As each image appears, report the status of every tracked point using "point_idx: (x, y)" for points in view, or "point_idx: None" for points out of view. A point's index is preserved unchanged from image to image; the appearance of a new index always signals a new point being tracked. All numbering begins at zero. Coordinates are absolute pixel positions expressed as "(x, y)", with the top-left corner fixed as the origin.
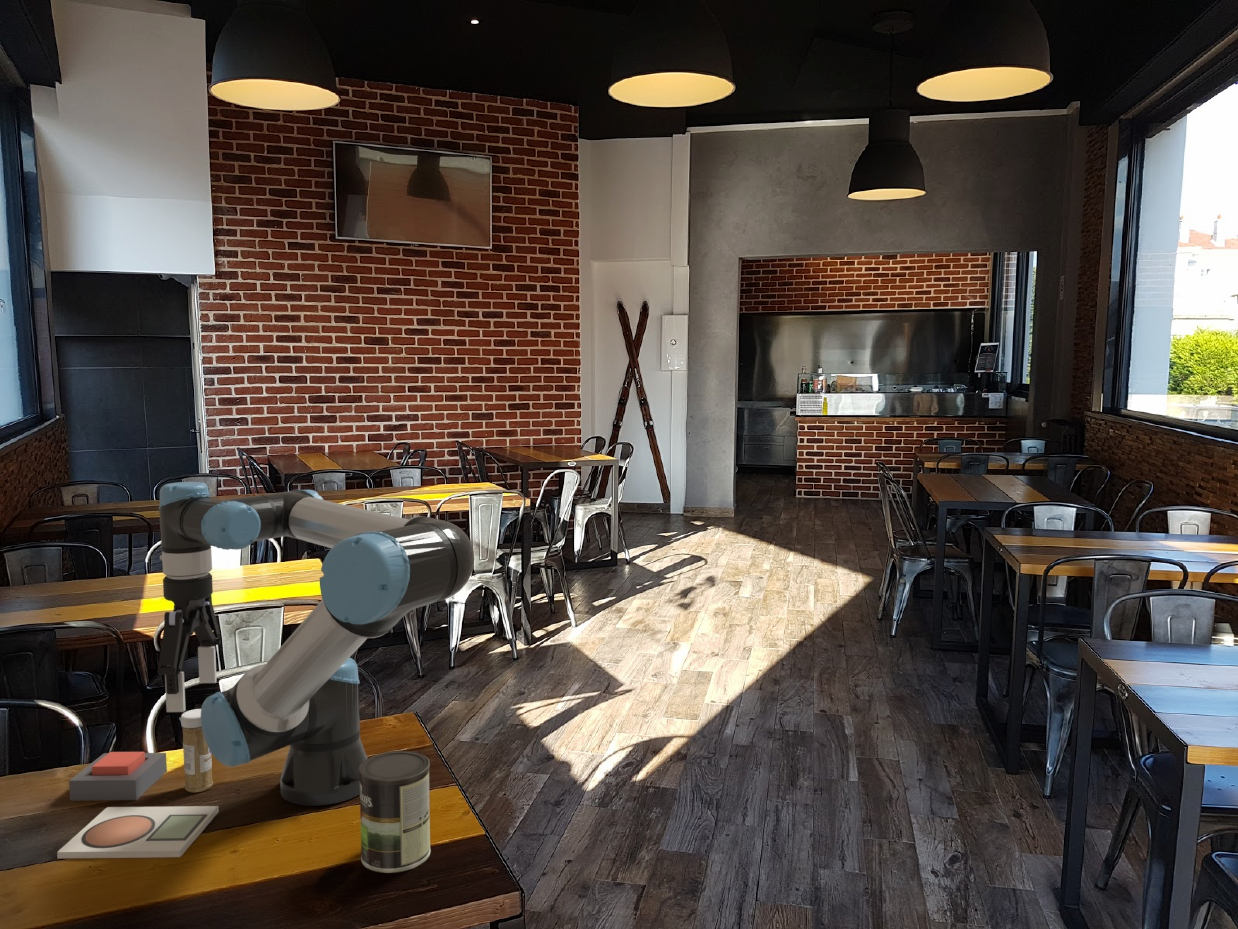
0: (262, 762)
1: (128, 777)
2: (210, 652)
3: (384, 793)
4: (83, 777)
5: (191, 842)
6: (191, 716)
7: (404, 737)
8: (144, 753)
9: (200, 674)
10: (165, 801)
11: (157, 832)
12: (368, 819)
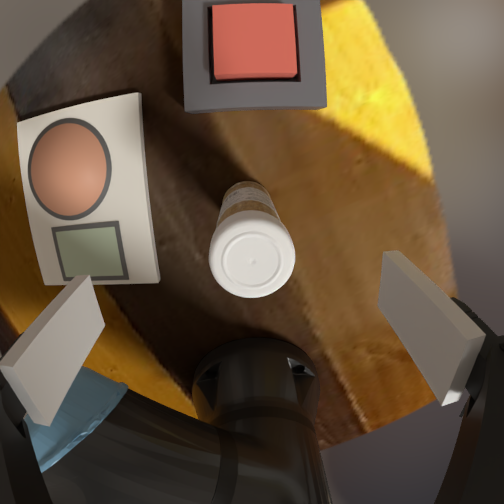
0: (350, 271)
1: (196, 90)
2: (435, 375)
3: None
4: (196, 5)
5: None
6: (220, 263)
7: (397, 408)
8: (295, 73)
9: (398, 272)
10: (189, 169)
11: (69, 233)
12: None
